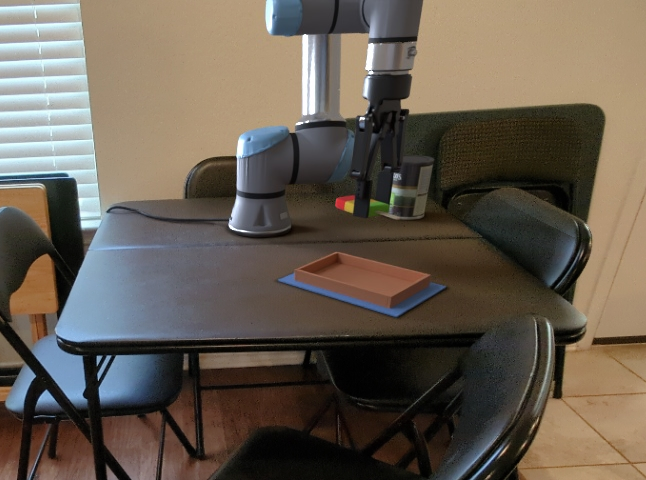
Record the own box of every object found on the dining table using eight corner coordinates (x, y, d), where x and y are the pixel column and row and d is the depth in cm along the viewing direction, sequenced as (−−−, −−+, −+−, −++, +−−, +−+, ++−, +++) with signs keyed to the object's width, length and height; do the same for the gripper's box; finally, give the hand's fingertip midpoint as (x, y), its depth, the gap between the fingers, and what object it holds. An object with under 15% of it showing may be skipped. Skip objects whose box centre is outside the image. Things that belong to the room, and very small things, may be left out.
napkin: (277, 281, 114) (278, 279, 114) (331, 258, 125) (331, 256, 125) (396, 317, 98) (397, 316, 98) (446, 287, 108) (446, 286, 108)
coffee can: (392, 221, 147) (401, 163, 141) (376, 210, 156) (383, 155, 150) (432, 218, 148) (442, 160, 141) (413, 208, 157) (422, 153, 150)
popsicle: (355, 203, 114) (356, 193, 113) (411, 221, 102) (412, 210, 101) (332, 207, 113) (333, 197, 112) (385, 226, 100) (387, 215, 99)
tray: (293, 281, 114) (294, 269, 112) (335, 263, 122) (336, 251, 121) (389, 310, 101) (391, 296, 99) (428, 287, 109) (431, 274, 108)
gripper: (378, 76, 88) (360, 227, 99) (438, 69, 100) (416, 205, 111) (335, 76, 93) (323, 220, 104) (397, 69, 104) (380, 199, 115)
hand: (371, 212), depth 107 cm, fingers closed on popsicle, 6 cm apart
